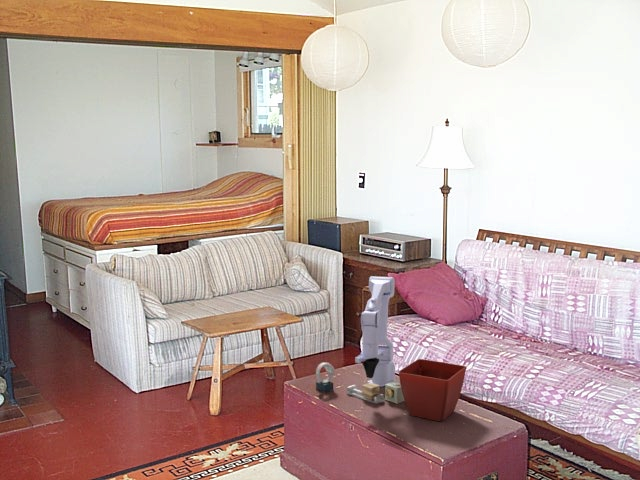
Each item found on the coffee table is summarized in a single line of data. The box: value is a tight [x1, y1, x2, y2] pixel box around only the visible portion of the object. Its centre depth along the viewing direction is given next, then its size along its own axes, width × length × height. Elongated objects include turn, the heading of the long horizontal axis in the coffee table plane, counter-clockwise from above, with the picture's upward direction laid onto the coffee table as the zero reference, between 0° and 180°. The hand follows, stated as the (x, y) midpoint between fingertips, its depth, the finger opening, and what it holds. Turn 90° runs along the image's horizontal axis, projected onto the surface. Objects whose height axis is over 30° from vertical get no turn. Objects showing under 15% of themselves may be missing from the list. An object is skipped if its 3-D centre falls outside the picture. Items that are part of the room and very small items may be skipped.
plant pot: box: [398, 358, 467, 422], centre depth 267 cm, size 19×19×17 cm
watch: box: [315, 361, 336, 394], centre depth 292 cm, size 6×8×11 cm
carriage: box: [361, 382, 381, 400], centre depth 281 cm, size 4×5×4 cm
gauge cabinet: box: [384, 380, 405, 405], centre depth 281 cm, size 6×6×6 cm
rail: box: [346, 384, 385, 405], centre depth 283 cm, size 4×16×3 cm, turn 43°
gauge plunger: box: [386, 389, 394, 398], centre depth 280 cm, size 7×3×3 cm, turn 134°
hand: (369, 377), depth 277 cm, fingers closed
